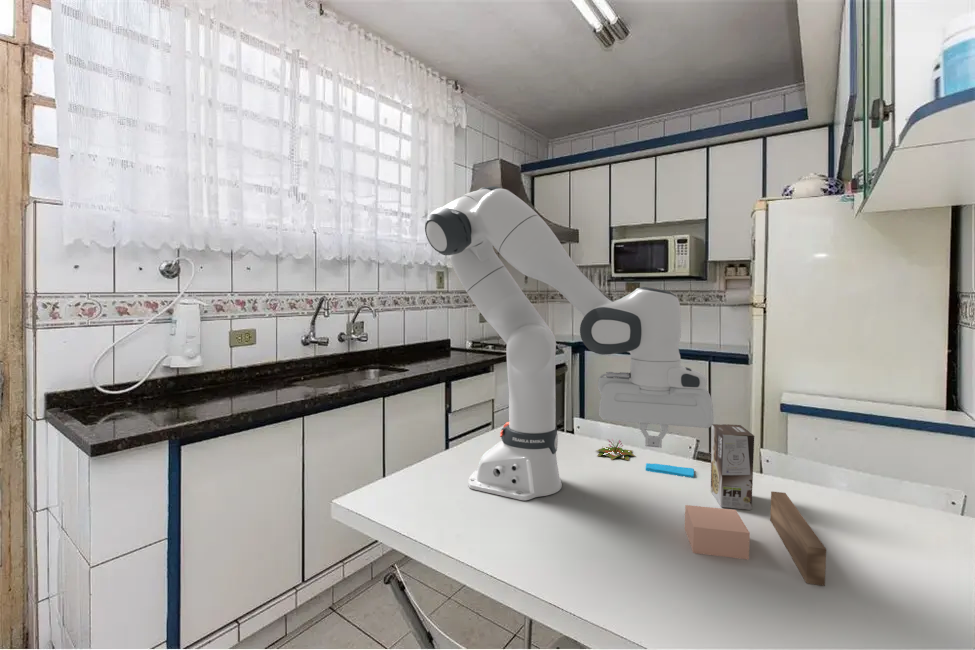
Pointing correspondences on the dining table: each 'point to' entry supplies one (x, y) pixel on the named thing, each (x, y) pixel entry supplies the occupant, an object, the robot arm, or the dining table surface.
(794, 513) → the walnut board
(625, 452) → the lily flower
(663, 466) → the sponge
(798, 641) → the dining table surface
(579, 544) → the dining table surface
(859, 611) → the dining table surface
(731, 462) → the coffee box
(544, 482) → the robot arm
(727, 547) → the terracotta block
